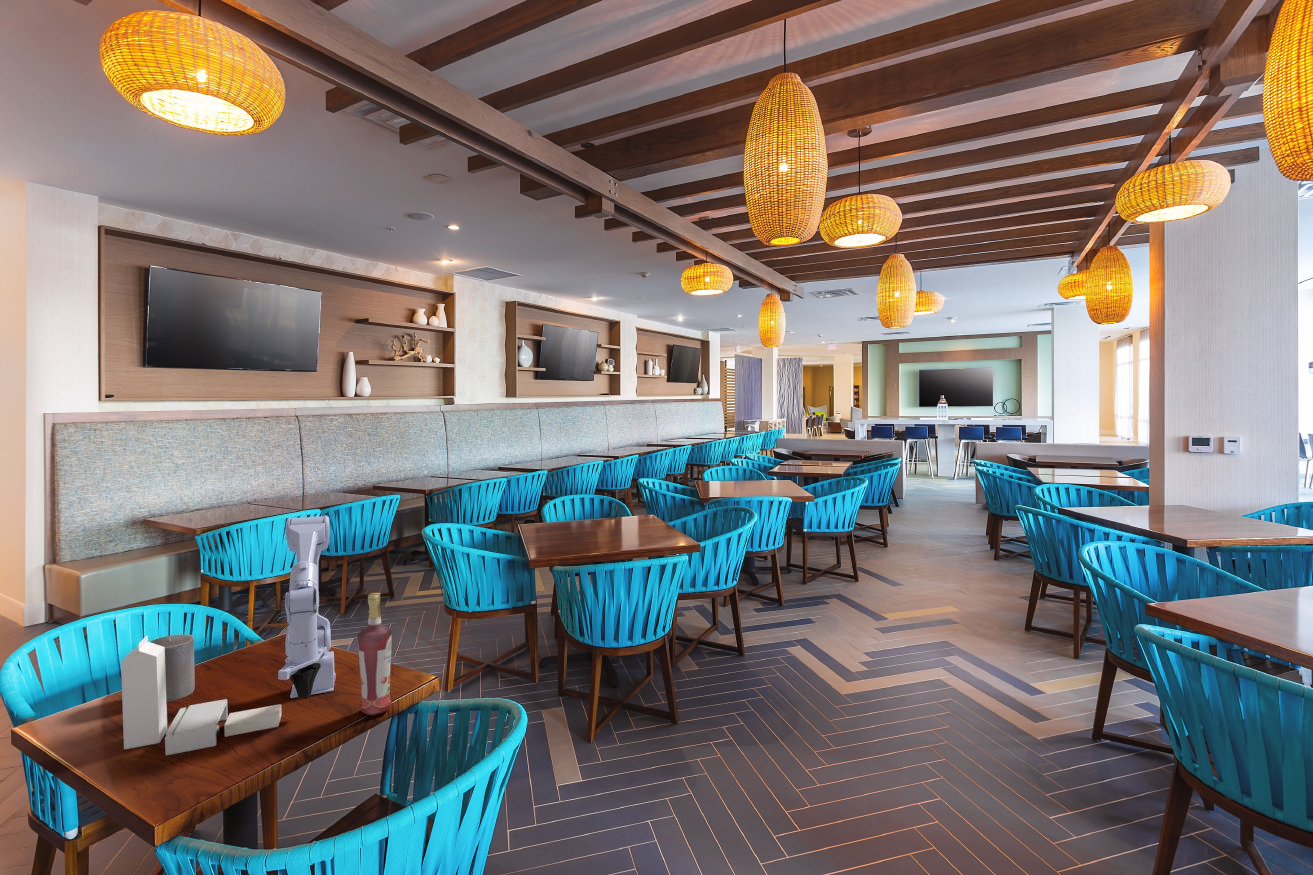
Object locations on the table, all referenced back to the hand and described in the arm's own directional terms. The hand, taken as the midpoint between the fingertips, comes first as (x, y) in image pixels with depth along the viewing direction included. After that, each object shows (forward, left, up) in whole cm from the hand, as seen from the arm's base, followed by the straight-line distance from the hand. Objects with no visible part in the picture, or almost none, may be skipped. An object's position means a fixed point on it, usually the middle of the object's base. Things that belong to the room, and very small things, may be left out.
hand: (304, 697), depth 142 cm
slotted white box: (+20, 0, -4) cm, 20 cm away
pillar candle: (+31, -27, -5) cm, 41 cm away
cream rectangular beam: (+10, 0, -4) cm, 11 cm away
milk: (+30, -3, -5) cm, 30 cm away
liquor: (-15, +5, -5) cm, 16 cm away
